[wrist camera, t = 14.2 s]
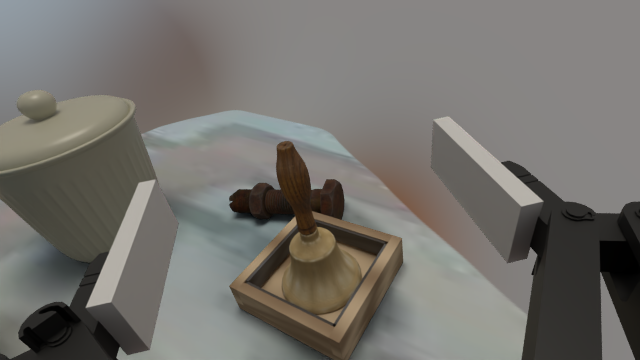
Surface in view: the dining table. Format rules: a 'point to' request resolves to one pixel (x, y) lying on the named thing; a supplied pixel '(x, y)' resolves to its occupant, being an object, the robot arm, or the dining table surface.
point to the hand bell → (312, 246)
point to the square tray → (334, 327)
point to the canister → (73, 168)
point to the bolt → (271, 201)
